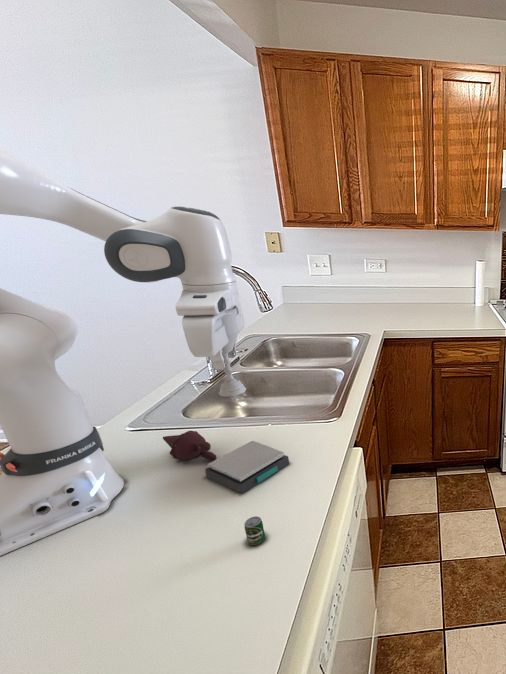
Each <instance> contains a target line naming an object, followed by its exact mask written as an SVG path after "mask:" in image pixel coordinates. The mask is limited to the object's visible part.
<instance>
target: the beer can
mask: <svg viewBox="0 0 506 674" xmlns="http://www.w3.org/2000/svg"><path fill="white" fill-rule="evenodd" d="M243 524H244V532H245V537H246V540H247V543H248V545H249V546H254V547H255V546H258V545H261V544H262V543H263V542H264V541H265V540H266V533H265V528H264V523H263V520H262V518H261V517H260V516H251V517H249V518H247V519H246V520H245V522H244V523H243Z"/></svg>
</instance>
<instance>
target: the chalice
mask: <svg viewBox="0 0 506 674" xmlns="http://www.w3.org/2000/svg"><path fill="white" fill-rule="evenodd" d="M236 308H237V307H236V306H234V309H233V310H229V311H225V313H232V314H229V315H225V316H223V318H221V320H222V325H224V326H225V330H226V335H227V337H228V340H229V342H228V343H227V344H226V345H225V346H224V347H223V348H222V356H223V358H224V359H225V360H226V367H225V368H224V369H223V370H222V372H223V373H225V375H226V379H225V380H224V381H222V383H220V388H219V392H218V395H219V396H220V397H225V398H226V397H235V396H238V395H241V394H243V393H245V392H246V391H247V388H246V386H244V384H243V383H242V381H241V380H239V379H237V378H235V377H233V371H234V369H233V368H232V366H231V363H232V361H231V359H230V358H229V357H228V353H229V352H231V351H232V350H233V347H234V344H235V341H236V338H237V337H238V334H239V333H238V327H237V321H236V316H235V310H236ZM233 312H234V313H233ZM237 339H238V338H237ZM236 342H237V341H236Z"/></svg>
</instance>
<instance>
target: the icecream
mask: <svg viewBox="0 0 506 674" xmlns="http://www.w3.org/2000/svg"><path fill="white" fill-rule="evenodd" d="M162 440H163V441H164V442H165V443H166V444H167V446H169V448H171V449H170V451H169V455H170V456H172V459H176V460H180V461H182V460H184V461H189V460H194V459H198V458H199V457H200V456H201V457H202V458H203V459H205V460H207V461H210V462H213V461H214V460H216V459H217V455H216V454H215V453H213V452H212V451H210V450H211V448H212V446H211V443H210V442H208V441H206V438H205V437H204V436H202V435H201V434H200V433H199V432H198V431H196V430H188V431H186V432H184V433H180V434H175V435H165V436H162Z"/></svg>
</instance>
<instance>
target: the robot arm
mask: <svg viewBox="0 0 506 674" xmlns="http://www.w3.org/2000/svg"><path fill="white" fill-rule="evenodd" d="M0 215H5V216H17V217H18V216H19V217H26V218H27V217H28V218H34V219H40V220H46V221H51V222H55V223H59V224H62V225H64V226H67V227H70V228H72V229H75V230H78V231H80V232H82V233H84V234H87V235H89V236H91V237H94V238H96V239H99V240H101V241H104V242H105V243H104V246H103V253H104V258H105V260H106V262H107V264H108V265H109V267H110V268H111V269H112V270H113V271H114V272H115V273H117V275H119V276H120V277H123V278H124V279H126V280H129V281H132V282H134V283H135V282H136V283H149V284H150V283H157V282H160V281H163V280H167V279H171V278H178V279H180V283H181V287H182V290H181V295H180V297H179V299H178V300H177V302H176V304H175V311H176V314H177V316H179V317H180V316H181V317H182V319H181V324H182V330H183V333H184V337H185V341H186V343H187V347H188V350H189V352H190V353H191V355H192V356H193V357H195V358H209V359H210V360H211V362H212V365H213V369H214V370H217V371H224V369H225V367H226V360H225V359H224V358H223V356H222V348H223V347H224V346H225V345H226V344H227V343H228V342H229V340H228V337H227V335H226V330H225V326H224V325H222V320H221V318H223V316H225V315H229V314H232V313H225V311H229V310H233V309H234V306H236V307H237V308H236V310H235V316H236V321H237V327H238V334H240V332H241V331H243V330H244V329H245V318H244V314H243V309H242V306H241V299H240V294H239V287H238V283H237V278H236V276H235V274H234V272H233V268H232V262H233V255H232V250H231V246H230V245H231V244H230V241H229V237H228V234H227V230H226V227H225V225H224V222H223V221H222V220H221V219H220V217H218V216H217V215H216V214H215V213H213V212H210V211H207V210H203V209H198V208H193V207H186V206H172V207H169V208H168V209H167V211H165V212H164V213H162V214H161V215H159V216H156V217H155V218H152V219H149V220H143V219H139V218H136V217H133V216H130V215H129V214H127V213H125V212H122V211H120V210H118V209H115V208H114V207H111V206H109V205H107V204H105V203H103V202H100V201H99V200H96V199H94V198H92V197H90V196H87V195H86V194H84V193H81V192H79V191H77V190H76V189H74V188H71V187H69V186H66V185H64V184H63V183H61V182H60V181H57V180H56V179H55V178H52V177H51V176H49V175H47V174H46V173H43V172H42V171H40V170H38V169H37V168H35V167H33V166H31V165H29V164H28V163H26V162H24V161H22V160H20V159H19V158H17V157H15V155H12V154H10V153H8V152H7V151H6V150H4V149H2V148H0ZM233 313H234V312H233ZM77 336H78V325H77V323H76V322H75V319H74V318H73V317H72V316H71V315H70V314H69V313H67V312H66V311H64V310H63V309H60V308H59V307H57V306H53V305H48V304H44V303H39V302H36V301H32V300H30V299H27V298H25V297H23V296H20V295H17V294H15V293H13V292H10V291H8V290H6V289H3V288H0V428H1V430H2V432H3V435H4V436H5V439H6V440H7V443H8V445H9V447H10V449H9V450H8V451H7V452H6V453H5V454H4V453H3V452H0V469H1V471H2V473H1V474H0V557H1V556H3V555H6V554H9V553H10V552H12V551H15V550H18V549H20V548H23V547H24V546H25V547H26V546H27V545H29V544H32V543H34V542H36V541H39V540H41V539H44V538H46V537H48V536H51V535H53V534H55V533H58V532H61V531H62V530H65V529H67V528H70V527H72V526H74V525H77V524H80V523H82V522H84V521H86V520H88V519H90V518H93V517H96V516H98V515H100V514H103V513H105V512H106V511H107V510H108V509H109V507H110V505H111V503H112V501H113V500H114V499H115V498H116V497H117V496H118V495H119V494H120V492H122V490H123V489H124V487H125V480H124V479H123V478H122V477H121V476H120V475H119V474H118V473H117V471H116V470H115V469H114V468H113V466H112V464H111V463H110V461H109V460H108V458H107V456H106V454H105V452H104V451H105V448H104V443H103V440H102V437H101V434H100V432H99V431H98V429H97V427H96V426H93V423H92V421H91V418H90V416H89V412H88V410H87V407H86V405H85V402H84V398H83V396H82V395H81V393H80V392H79V391H78V390H76V389H74V388H71V387H69V386H68V385H67V383H66V382H65V381H64V380H63V379H62V377H61V376H60V375H59V373H58V371H57V369H56V361H58V359H59V358H61V357H62V356H64V355H66V354H67V353H68V352H69V351H70V350H71V348H73V347H72V346H73V345H74V343H75V341H76V338H77ZM237 339H238V338H236V341H235V344H234V347H233V350H232V351H231V352H229V353H228V357H229V359H234V358H235V357H237V355H238V352H237Z"/></svg>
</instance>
